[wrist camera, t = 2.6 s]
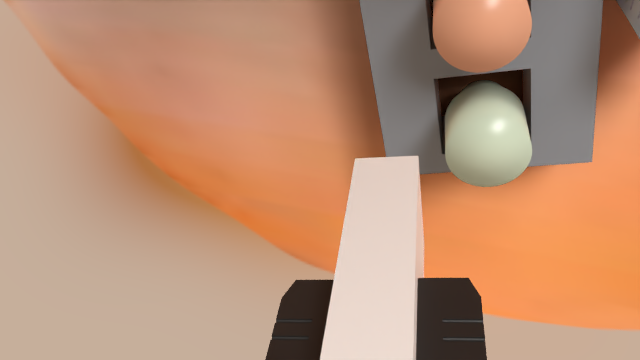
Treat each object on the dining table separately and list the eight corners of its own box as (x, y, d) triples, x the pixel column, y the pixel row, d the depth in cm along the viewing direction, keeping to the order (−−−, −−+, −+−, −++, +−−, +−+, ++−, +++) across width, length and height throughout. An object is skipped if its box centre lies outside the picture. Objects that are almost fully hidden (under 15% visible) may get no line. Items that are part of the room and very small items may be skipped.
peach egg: (429, -50, 31) (428, -10, 27) (518, -64, 30) (531, -26, 26) (437, 30, 34) (437, 77, 30) (519, 19, 33) (531, 66, 29)
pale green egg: (441, 71, 35) (442, 122, 31) (520, 63, 34) (532, 114, 30) (447, 134, 38) (448, 189, 34) (521, 128, 37) (532, 183, 33)
